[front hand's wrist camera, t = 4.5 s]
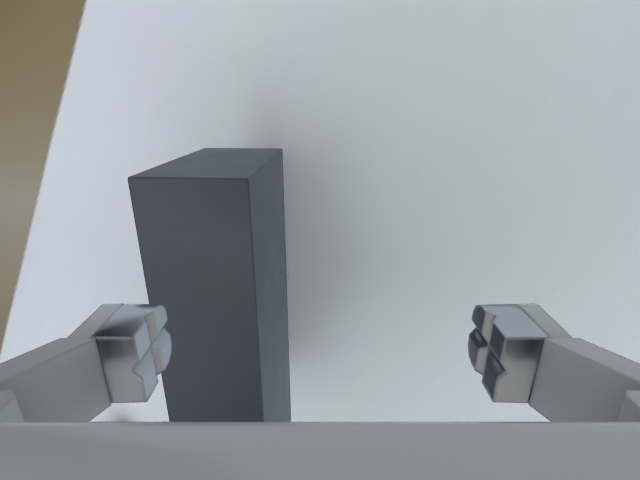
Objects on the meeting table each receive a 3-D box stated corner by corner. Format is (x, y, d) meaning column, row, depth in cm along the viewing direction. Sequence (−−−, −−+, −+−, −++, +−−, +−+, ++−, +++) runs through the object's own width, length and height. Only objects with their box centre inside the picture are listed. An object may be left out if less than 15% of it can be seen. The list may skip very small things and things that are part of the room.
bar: (204, 147, 25) (126, 177, 16) (282, 148, 24) (248, 178, 16) (232, 426, 33) (191, 550, 24) (291, 428, 33) (272, 554, 24)
